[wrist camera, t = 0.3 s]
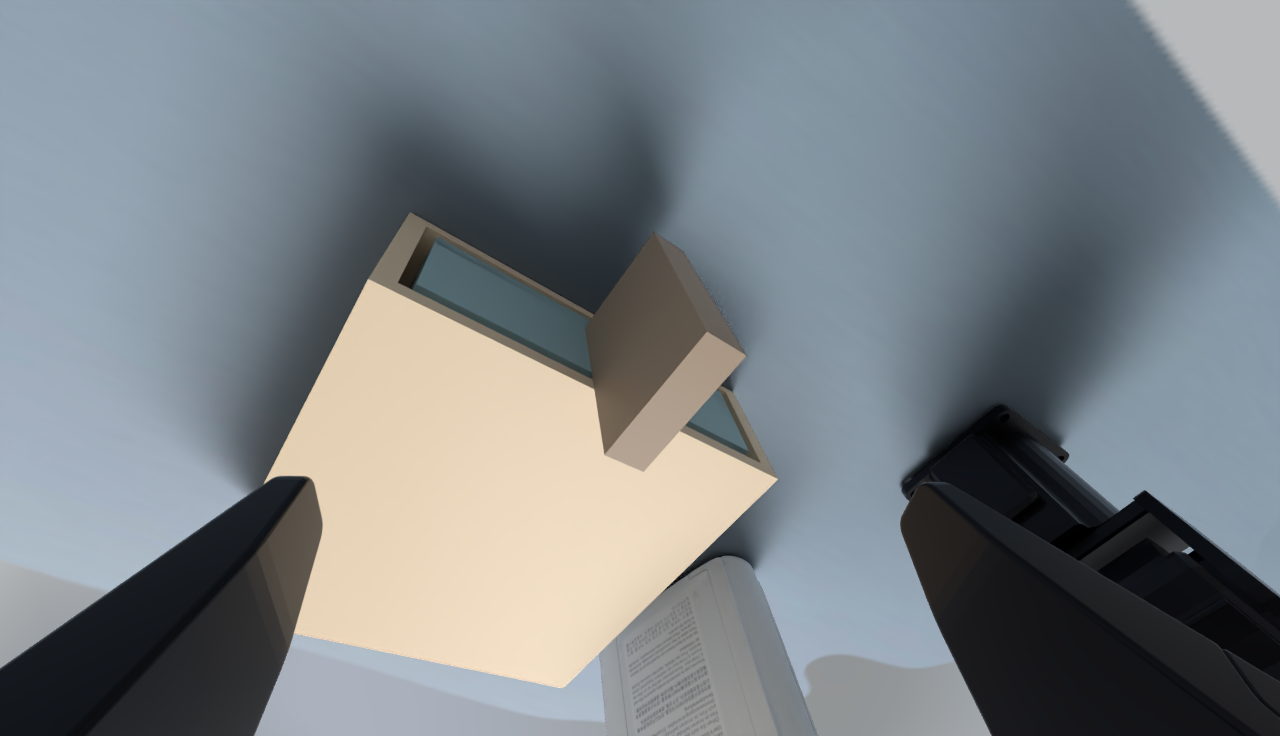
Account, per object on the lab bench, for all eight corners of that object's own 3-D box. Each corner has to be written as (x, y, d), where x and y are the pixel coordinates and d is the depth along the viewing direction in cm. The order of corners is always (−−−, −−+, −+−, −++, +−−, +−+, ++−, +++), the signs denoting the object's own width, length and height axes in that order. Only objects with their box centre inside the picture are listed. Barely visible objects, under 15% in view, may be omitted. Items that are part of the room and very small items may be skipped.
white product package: (637, 661, 34) (681, 947, 23) (585, 640, 31) (609, 944, 21) (767, 570, 31) (884, 852, 20) (720, 540, 28) (823, 837, 18)
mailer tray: (787, 317, 21) (890, 442, 15) (542, 592, 27) (543, 757, 21) (500, 122, 16) (476, 192, 10) (282, 518, 22) (187, 708, 16)
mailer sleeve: (733, 392, 23) (778, 479, 19) (552, 592, 29) (555, 695, 24) (410, 211, 17) (368, 278, 13) (258, 507, 23) (192, 623, 18)
